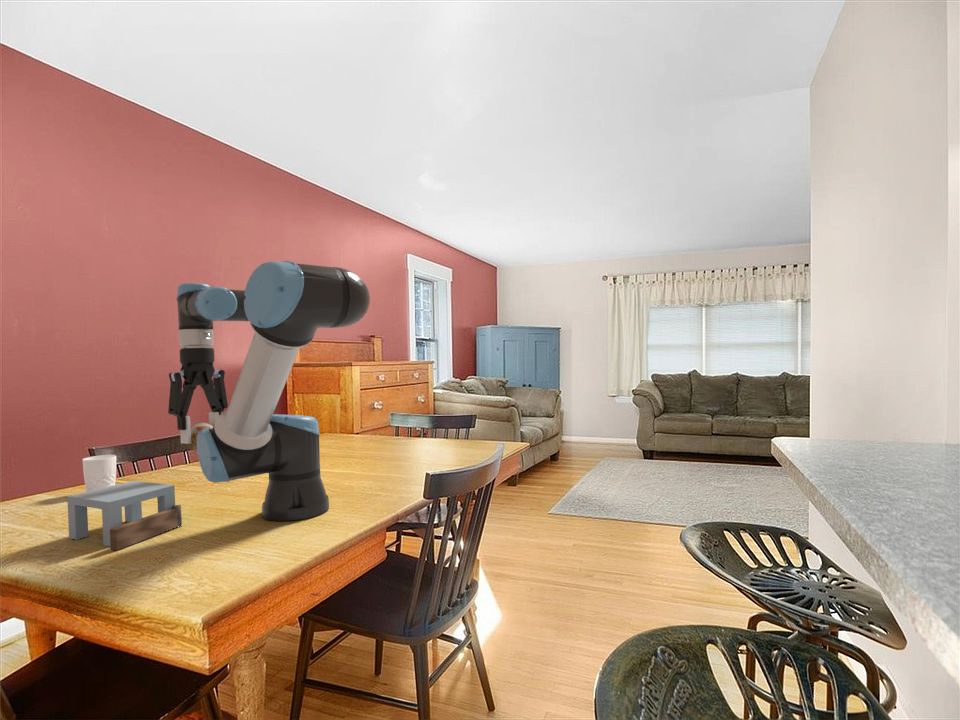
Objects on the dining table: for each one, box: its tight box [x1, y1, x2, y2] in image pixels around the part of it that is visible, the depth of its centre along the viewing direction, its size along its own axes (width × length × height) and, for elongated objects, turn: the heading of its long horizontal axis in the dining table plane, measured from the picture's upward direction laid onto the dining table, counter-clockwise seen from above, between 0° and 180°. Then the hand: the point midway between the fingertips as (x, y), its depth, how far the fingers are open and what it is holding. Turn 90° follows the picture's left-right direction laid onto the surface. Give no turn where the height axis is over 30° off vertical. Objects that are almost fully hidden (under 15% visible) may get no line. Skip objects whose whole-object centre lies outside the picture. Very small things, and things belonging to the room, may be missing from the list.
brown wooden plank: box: [110, 504, 183, 551], centre depth 112 cm, size 15×2×5 cm, turn 162°
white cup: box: [81, 454, 117, 492], centre depth 151 cm, size 8×8×10 cm
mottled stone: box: [186, 421, 213, 452], centre depth 131 cm, size 8×10×10 cm
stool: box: [66, 480, 176, 548], centre depth 116 cm, size 14×14×9 cm
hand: (200, 440), depth 131 cm, fingers closed on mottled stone, 7 cm apart
